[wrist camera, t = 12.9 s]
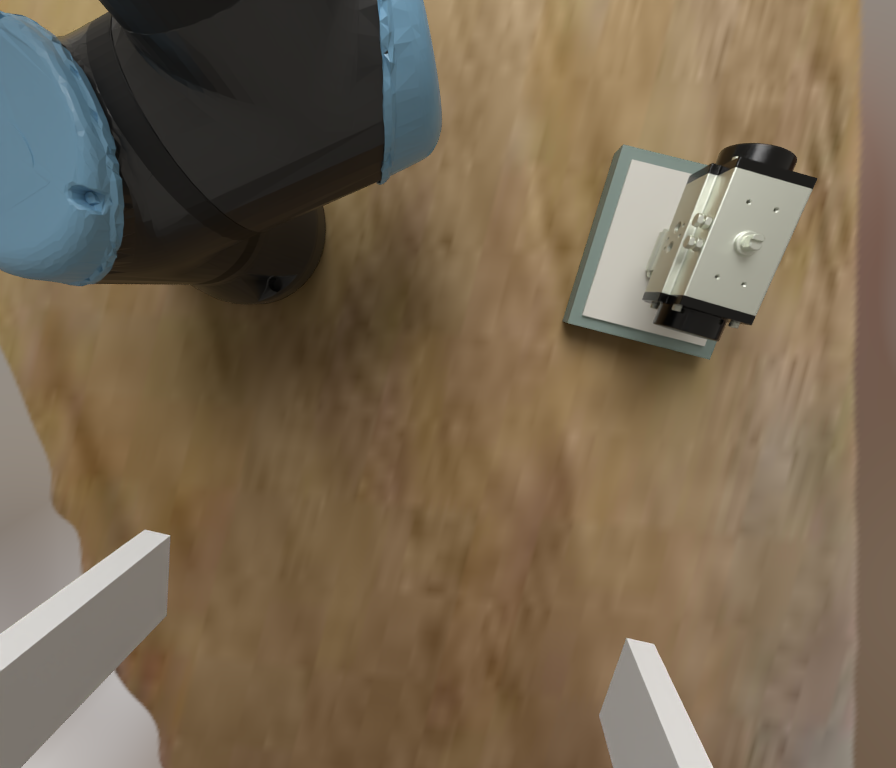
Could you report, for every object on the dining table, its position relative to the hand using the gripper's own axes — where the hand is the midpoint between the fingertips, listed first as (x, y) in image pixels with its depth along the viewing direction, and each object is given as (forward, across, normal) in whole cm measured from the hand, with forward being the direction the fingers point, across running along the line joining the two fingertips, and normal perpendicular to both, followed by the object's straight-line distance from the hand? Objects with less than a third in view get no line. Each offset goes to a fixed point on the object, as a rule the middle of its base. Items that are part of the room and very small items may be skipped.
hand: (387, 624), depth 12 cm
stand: (+32, +16, +15) cm, 39 cm away
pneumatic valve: (+29, +15, +15) cm, 36 cm away
